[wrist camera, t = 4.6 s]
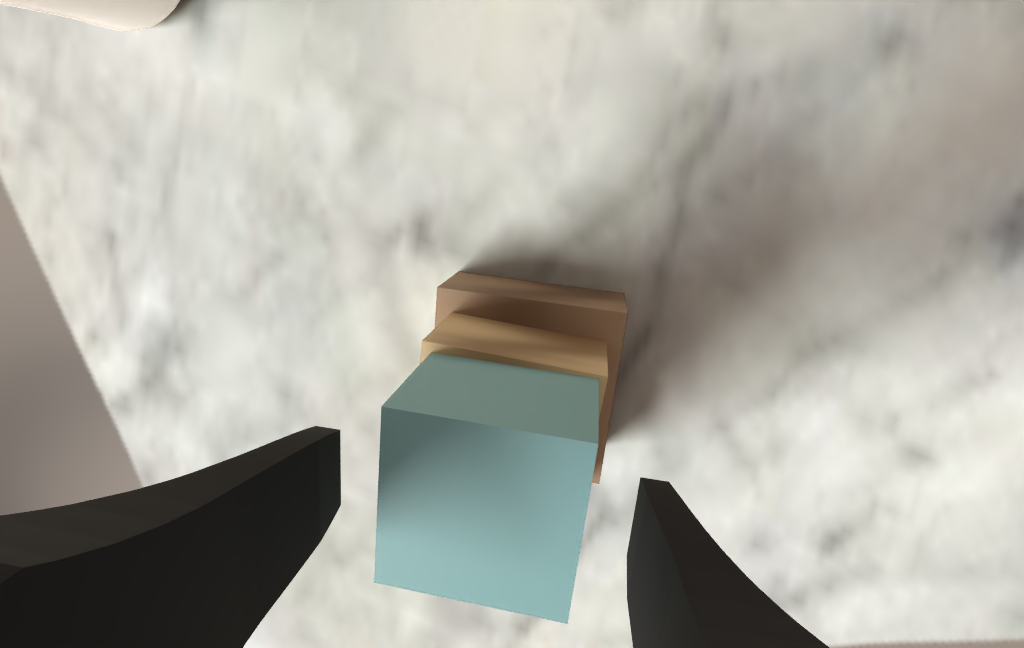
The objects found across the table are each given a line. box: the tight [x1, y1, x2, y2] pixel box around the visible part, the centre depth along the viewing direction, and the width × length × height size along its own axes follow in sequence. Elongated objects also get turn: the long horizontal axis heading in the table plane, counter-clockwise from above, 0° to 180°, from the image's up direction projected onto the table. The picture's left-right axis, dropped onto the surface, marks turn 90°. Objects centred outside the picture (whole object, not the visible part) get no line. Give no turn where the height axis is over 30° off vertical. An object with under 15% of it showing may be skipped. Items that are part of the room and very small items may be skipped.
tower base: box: [435, 272, 628, 484], centre depth 19 cm, size 6×6×3 cm
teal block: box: [374, 352, 599, 623], centre depth 13 cm, size 4×4×4 cm
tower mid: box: [420, 312, 608, 417], centre depth 16 cm, size 5×5×3 cm
